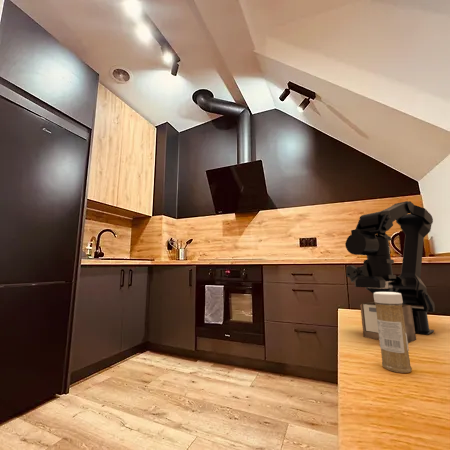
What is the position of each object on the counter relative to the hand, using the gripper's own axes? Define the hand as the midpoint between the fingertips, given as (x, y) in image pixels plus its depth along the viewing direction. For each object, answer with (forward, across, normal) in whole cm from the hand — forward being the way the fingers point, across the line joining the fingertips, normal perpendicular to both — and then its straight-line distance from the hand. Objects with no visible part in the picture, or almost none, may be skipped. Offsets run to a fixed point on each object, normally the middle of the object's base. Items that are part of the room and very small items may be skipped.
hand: (385, 314), depth 66 cm
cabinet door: (+4, +3, 0) cm, 6 cm away
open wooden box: (+6, -1, 0) cm, 6 cm away
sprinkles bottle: (+6, +22, +10) cm, 25 cm away
